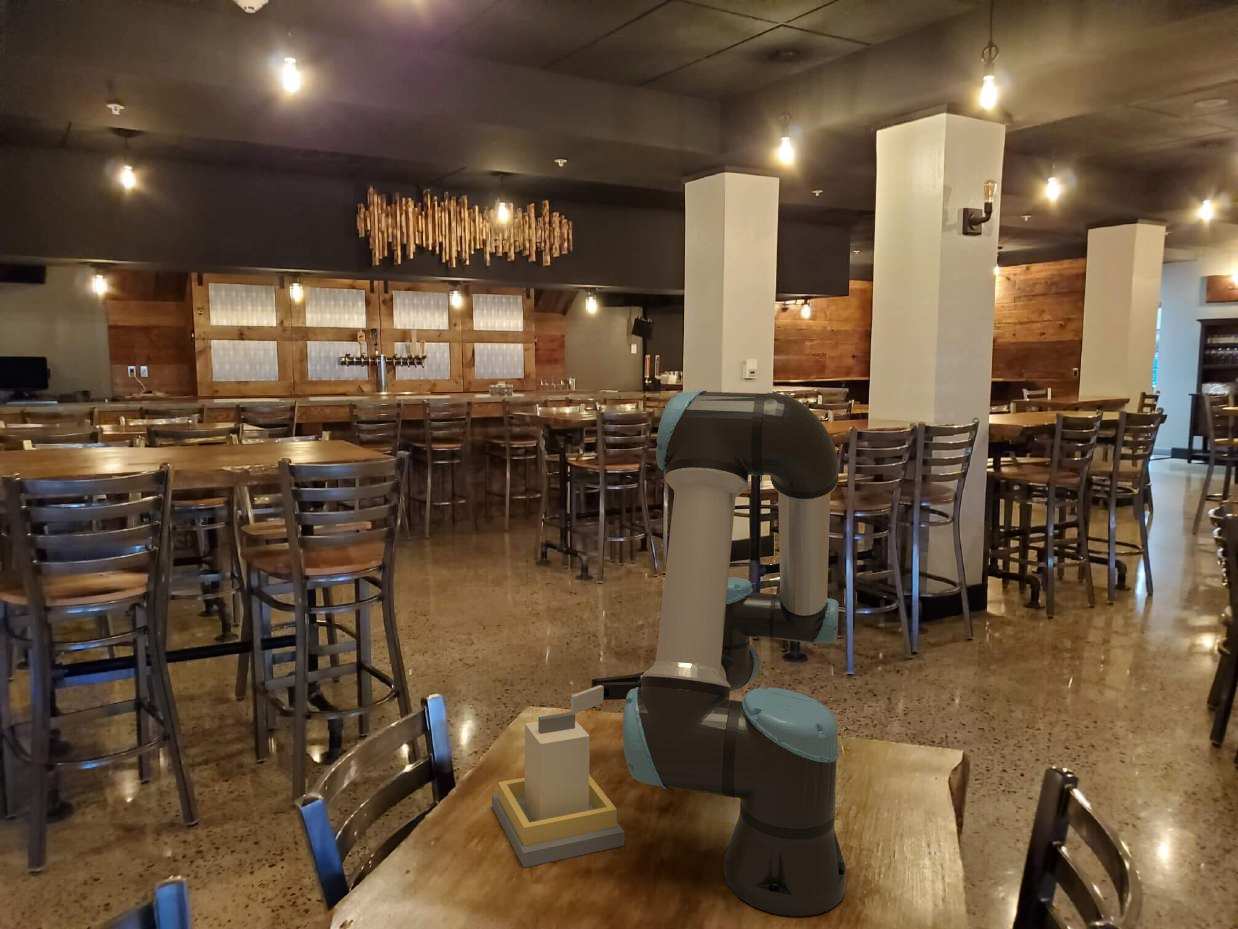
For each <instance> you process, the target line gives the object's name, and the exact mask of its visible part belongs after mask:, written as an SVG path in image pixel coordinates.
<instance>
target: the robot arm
mask: <svg viewBox="0 0 1238 929" xmlns="http://www.w3.org/2000/svg"><path fill="white" fill-rule="evenodd" d="M657 429H658V430H657V436H656V444H657V445H656V449H655V457H656V458H655V460H656V464H657V467H658V468H659V469H660V470H661V471H664V472H665V483H667V484H668V485H669V487H670V488H671V489H672V490H673V503H672V512H671V513H672V514H671V521H670V532H669V539H668V547H667V555H666V557H667V558H666V566H665V574H664V575H665V576H664V584H663V593H662V602H661V611H660V620H659V628H658V637H657V646H656V655H655V661H654V664H653V665H652V666H651V667H649V669H647V670H646V671H641V672H638V673H634V674H626V675H617V676H616V675H615V676H608V677H607V676H606V677H600V678H592V679H591V683H590V684H591V687H590V688H588V689H586V690H583V691H580V692H577V693H574V694H571V695H570V712H573V713H574V714H575V715H576V714H578V713H581V712H583V711H586V710H588V709H591V708H593V707H596V706H599V705H600V706H601V705H602V704H603V703H604V701H616V700H625V705H624V708H623V714H622V715H623V717H622V719H623V720H622V738H623V740H622V741H623V752H624V757H625V761H626V766H627V768H628V771H629V773H630V774H631V776H632V777H633V779H635V780H636V781H637V782H639V783H641V784H647V785H651V786H654V787H655V786H656V787H661V788H662V789H663V790H668V789H673V790H680V791H685V792H686V791H687V792H694V793H702V794H707V795H714V796H722V797H729V798H735V799H739V800H740V804H739V816H738V819H737V821H736V824H735V827H734V829H733V831H732V835H731V839H730V842H729V844H728V845H727V847H726V850H725V851H724V852H725V854H724V862H723V876H724V880H725V883H726V884H727V887H728V888H729V890H730V891H731V892H732V893H733V894H734V895H735V896H737V898H739V899H740V900H741V901H743V902H745V903H746V904H748V905H750V906H752V907H754V908H757V909H758V910H760V911H765V912H768V913H772V914H777V915H781V916H787V915H788V916H789V917H808V916H814V915H819V914H822V913H824V912H828V911H830V910H831V909H833V908H835V907H836V906H838V905H839V904H840V903H841V901H843V899H844V897H845V895H846V890H847V868H846V864H845V860H844V856H843V853H842V850H841V847H840V843H839V839H838V836H837V833H836V832H837V831H836V828H835V817H836V816H835V815H836V812H835V811H836V793H837V792H836V790H837V784H836V783H837V764H838V763H837V760H838V759H839V757H840V756H839V755H840V748H839V734H838V733H839V731H838V728H839V727H838V723H837V719H836V717H835V716H834V714H833V713H832V712H831V710H829V709H828V707H826V706H825V705H824V704H822V703H821V702H820V701H817V700H816V699H815V698H812V697H810V696H808V695H806V694H803V693H800V692H797V691H794V690H789V689H785V688H779V687H766V688H762V687H759V688H757V687H756V688H753V689H751V690H750V691H747V693H746V694H745V696H744V697H743V698H742V701H741V700H740V701H739V700H733V699H730V695H731V692H732V691H735V690H739V689H741V688H743V687H745V686H746V685H747V684H749V683H750V682H753V680H755V679H756V678H757V676H758V674H760V670H761V660H760V658H759V655H758V652H757V650H756V648H755V647H754V646H753V645H751V643H750V642H751V637H754V638H762V639H763V638H764V639H773V640H774V639H775V640H783V641H793V642H800V643H809V644H817V643H818V644H834V643H835V642H836V641H837V640H838V629H839V627H838V626H839V608H840V607H839V601H837V600H836V599H835V598H834V599H833V598H829V597H828V582H829V581H828V580H829V577H828V576H829V555H830V554H829V551H830V519H831V518H830V517H831V515H830V514H831V494H832V492H834V491H835V490H836V488H837V487H838V486H837V485H838V483H839V471H840V470H839V469H840V468H839V466H840V464H839V459H838V454H837V450H836V447H835V443H834V442H833V439H832V438H831V435H830V433H829V432H828V430H827V428H826V427H825V425H824V424H823V422H822V421H821V420H820V419H819V417H818V416H817V415H816V413H814V412H813V411H812V410H811V409H810V408H809V407H808V406H807V405H805V404H804V403H802V402H800V400H797V399H796V398H793V397H791V396H789V395H787V394H783V393H777V392H767V393H761V392H760V393H759V392H730V391H729V392H723V391H707V390H703V389H702V390H698V391H689V392H688V391H683V392H678V393H676V394H674V395H673V396H672V397H671V398H670V399H669V400H668V402H667V403H666V405H665V407H664V409H663V411H662V414H661V418H660V421H659V426H658V428H657ZM749 476H770V481H771V482H770V483H771V485H772V487H773V488H774V490H775V491H776V492H777V493H778V496H777V499H778V500H777V501H778V503H777V504H778V537H779V538H778V545H779V587H780V588H779V589H780V590H779V592H780V594H779V593H778V594H777V593H763V592H754V591H753V590H754V589H753V584H752V582H751V581H750V580H749V579H746V578H743V577H742V578H741V577H738V576H729V575H730V564H731V553H732V543H733V531H734V529H733V528H734V519H735V510H736V508H735V507H736V499H737V498H738V496H740V495H741V494H743V493H744V492H745V491H746V490H747V489H748V484H749Z"/></svg>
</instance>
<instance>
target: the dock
mask: <svg viewBox="0 0 1238 929" xmlns="http://www.w3.org/2000/svg"><path fill="white" fill-rule="evenodd" d="M491 808H492V810H493V812H494V814H495V815H496V818H497V820H498V821H499V823H500V826H501V827H502V830H503V831H504V833H505V836H506V837H507V839H508V841H509V843H510V844H511V846H512V847H511V848H513V851H514V852H515V855H516V856H517V859H518V860H519V862H520V863H521V864H520V865H521V867H523V868H524V869H525V868H528V867H533V866H538V865H539V866H540V865H542V864H548V863H552V862H556V861H561V860H565V859H569V858H574V857H578V856H579V857H580V856H583V855H589V854H592V853H596V852H597V853H598V852H601V851H605V850H606V851H607V850H611V849H616V848H621V847H624V846H625V830H624V829H623V827H622V826H621V825H620V824H619V822H618V809H617V807H616V806H615V805H614V804H613V802H612V801H611V800H610V799H609V797H608V796H607V795H606V793H605V792H604V791H603V790H602V788H601V787H600V786H599V784H597V782H596V781H595V780H594V779H593V777H592V776H591V775H590V774H589V811H585V812H580V813H575V814H570V815H565V816H560V817H555V818H550V819H545V820H540V821H534V819H533V818H532V816H531V814H530V813H529V811H528V810H527V808H526V806H525V777H520V778H516V779H515V778H514V779H509V780H504V781H499V782H497V793H494V794H491Z"/></svg>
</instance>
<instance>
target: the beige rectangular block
mask: <svg viewBox="0 0 1238 929" xmlns="http://www.w3.org/2000/svg"><path fill="white" fill-rule="evenodd" d="M590 738H591V736H590V735H589V733H588V732H587V731H586V730H585V729H584V728H583V726H582V725H580V724H579V722H578V721H577V720H576V714H574V713H573V712H571V711H570V712H562V713H557V714H549V715H544V716H538V721H534V722H533V721H532V722H527V723H525V724H524V778H525V806H526V808H527V810H528V811H529V813H530V814H531V816H532V818H533V819H534V821H540V820H545V819H550V818H555V817H560V816H565V815H570V814H575V813H580V812H585V811H589V775H590V750H591V748H590V746H591V744H590V741H591V740H590Z"/></svg>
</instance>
